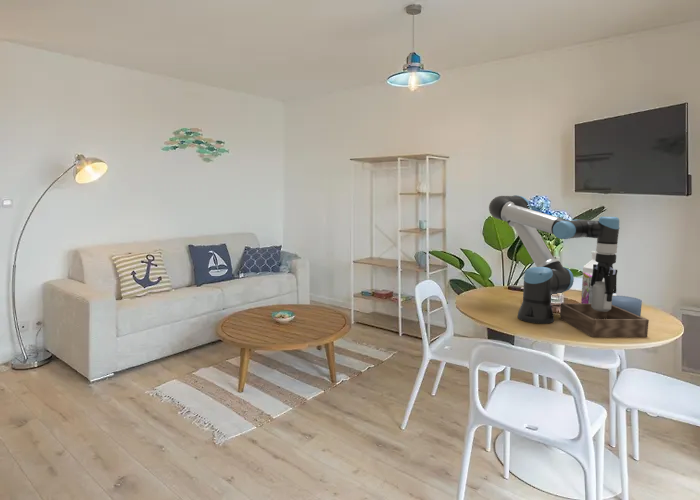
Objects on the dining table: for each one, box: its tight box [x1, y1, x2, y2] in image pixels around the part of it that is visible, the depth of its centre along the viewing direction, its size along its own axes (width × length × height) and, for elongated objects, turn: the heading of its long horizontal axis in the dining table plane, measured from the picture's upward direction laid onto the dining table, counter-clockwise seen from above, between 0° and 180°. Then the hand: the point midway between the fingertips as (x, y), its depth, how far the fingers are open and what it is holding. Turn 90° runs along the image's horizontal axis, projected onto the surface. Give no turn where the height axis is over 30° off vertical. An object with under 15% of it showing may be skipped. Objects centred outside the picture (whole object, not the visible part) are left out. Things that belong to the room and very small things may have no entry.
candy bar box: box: [580, 272, 593, 304], centre depth 224 cm, size 11×5×16 cm, turn 168°
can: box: [591, 281, 614, 312], centre depth 188 cm, size 8×8×12 cm
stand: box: [612, 295, 643, 317], centre depth 207 cm, size 14×14×8 cm
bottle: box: [582, 250, 605, 282], centre depth 247 cm, size 12×12×25 cm
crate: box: [559, 303, 650, 338], centre depth 189 cm, size 22×26×7 cm
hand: (601, 305), depth 188 cm, fingers closed on can, 7 cm apart
